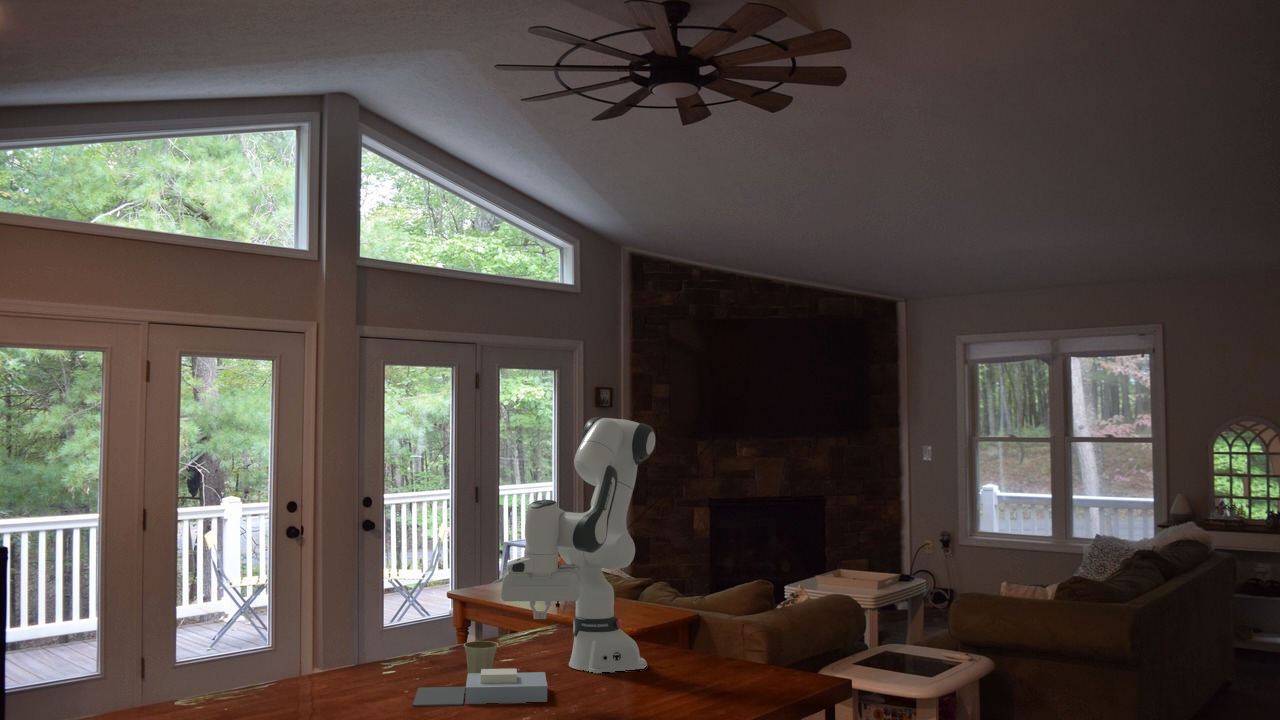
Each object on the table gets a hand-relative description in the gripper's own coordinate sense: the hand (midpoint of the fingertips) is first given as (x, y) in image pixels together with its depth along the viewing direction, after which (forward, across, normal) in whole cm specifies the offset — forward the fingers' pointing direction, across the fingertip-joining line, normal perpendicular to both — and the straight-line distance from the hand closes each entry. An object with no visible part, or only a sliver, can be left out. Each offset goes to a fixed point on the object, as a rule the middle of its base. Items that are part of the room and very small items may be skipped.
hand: (539, 618), depth 248 cm
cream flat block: (+15, +10, 0) cm, 18 cm away
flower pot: (+19, +15, -20) cm, 32 cm away
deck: (+19, +8, 0) cm, 21 cm away
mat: (+19, +24, 0) cm, 31 cm away
